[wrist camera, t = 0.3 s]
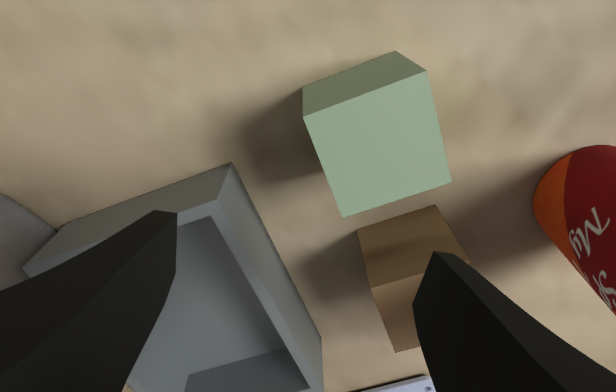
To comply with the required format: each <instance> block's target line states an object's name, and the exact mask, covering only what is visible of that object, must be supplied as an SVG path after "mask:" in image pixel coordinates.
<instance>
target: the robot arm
mask: <svg viewBox="0 0 616 392" xmlns="http://www.w3.org/2000/svg"><path fill="white" fill-rule="evenodd" d="M177 215H178V213H173V212H166V211H160V210H153V211H151V212H150V213H148V214H146V215H145V216H143V217H141V218H140V219H138V220H137V221H135V222H133V223H132V224H130V225H129V226H127V227H125V228H124V229H122V230H120V231H119V232H117V233H115V234H114V235H112V236H110V237H109V238H107V239H105V240H104V241H102V242H100V243H99V244H97V245H95V246H93V247H91V248H89V249H88V250H86V251H84V252H82V253H80V254H78V255H76V256H75V257H73V258H71V259H69V260H67V261H65V262H63V263H61V264H59V265H57V266H55V267H53V268H51V269H49V270H47V271H45V272H43V273H41V274H39V275H36V276H34V277H32V278H29V279H27V280H25V281H22V282H20V283H18V284H16V285H13V286H11V287H8V288H6V289H3V290H1V291H0V392H122V390H123V387H124V385H125V383H126V381H127V379H128V377H129V375H130V373H131V371H132V369H133V367H134V365H135V363H136V361H137V359H138V357H139V355H140V353H141V351H142V349H143V347H144V345H145V343H146V341H147V339H148V337H149V335H150V333H151V331H152V329H153V327H154V325H155V323H156V321H157V319H158V317H159V315H160V313H161V311H162V309H163V307H164V305H165V302H166V300H167V297H168V294H169V291H170V288H171V285H172V282H173V280H174V277H175V274H176V246H177ZM412 309H413V315H414V321H415V326H416V331H417V336H418V339H419V343H420V346H421V349H422V352H423V355H424V358H425V361H426V364H427V367H428V370H429V373H430V376H431V377H429V376H421V377H417V378H413V379H409V380H405V381H401V382H397V383H393V384H389V385H385V386H381V387H377V388H373V389H369V390H365V391H361V392H616V374H614V373H612V372H611V371H609V370H608V369H606V368H604V367H603V366H601V365H600V364H598V363H596V362H595V361H593V360H592V359H590V358H589V357H587V356H586V355H585V354H583V353H582V352H580V351H579V350H577V349H576V348H574V347H573V346H571V345H570V344H568V343H567V342H565V341H564V340H562V339H561V338H560V337H558V336H557V335H555V334H554V333H553V332H551V331H550V330H549V329H547V328H546V327H545V326H543V325H542V324H541V323H540V322H538V321H537V320H536V319H534V318H533V317H532V316H530V315H529V314H528V313H527V312H525V311H524V310H523V309H522V308H520V307H519V306H518V305H517V304H515V303H514V302H513V301H512V300H510V299H509V298H508V297H507V296H506V295H504V294H503V293H502V292H501V291H500V290H498V289H497V288H496V287H495V286H494V285H492V284H491V283H490V282H489V281H488V280H486V279H485V278H484V277H483V276H482V275H481V274H479V273H478V272H477V271H476V270H474V269H473V268H472V267H471V266H470V265H468V264H467V263H466V262H465V261H463V260H462V259H461V258H459V257H458V256H456V255H455V254H452V253H445V252H438V251H433V253H432V256H431V258H430V261H429V263H428V266H427V268H426V271H425V273H424V276H423V278H422V281H421V283H420V286H419V288H418V291H417V293H416V296H415V298H414V301H413V303H412Z"/></svg>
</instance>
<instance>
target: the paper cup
mask: <svg viewBox="0 0 616 392" xmlns="http://www.w3.org/2000/svg"><path fill="white" fill-rule="evenodd" d="M532 207H533V213H534V216H535V218H536V220H537V222H538V223H539V225H540V226H541V227H542V229H543V230H544V231H545V233H546V234H547V235H548V236H549V238H550V239H551V240H552V241H553V242H554V244H555V245H556V246H557V247H558V249H559V250H560V251H561V252H562V253H563V254H564V256H565V257H566V258H567V259H568V260H569V262H570V263H571V264H572V265H573V266H574V267H575V269H576V270H577V271H578V272H579V273H580V275H581V276H582V277H583V278H584V279H585V280H586V282H587V283H588V284H589V285H590V286H591V287H592V289H593V290H594V291H595V292H596V293H597V294H598V296H599V297H600V298H601V299H602V300H603V301H604V303H605V304H606V305H607V306H608V307H609V308H610V310H611V311H612V312H613V313H614V314H615V315H616V147H615V146H610V145H594V146H589V147H585V148H582V149H579V150H576V151H574V152H572V153H570V154H568V155H566V156H565V157H563V158H561V159H560V160H559V161H557V162H556V163H555V164H554V165H553V166H552V167H550V168H549V170H548V171H547V172H546V173H545V174H544V175H543V177H542V178H541V180H540V181H539V183H538V185H537V187H536V189H535V192H534V196H533V202H532Z"/></svg>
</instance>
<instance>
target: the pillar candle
mask: <svg viewBox="0 0 616 392" xmlns="http://www.w3.org/2000/svg"><path fill="white" fill-rule="evenodd" d="M56 234H57V232H56V231H55V230H54V229H53V228H52V227H51V226H50V225H48V224H47V223H45V222H44V221H42V220H41V219H39V218H38V217H37V216H35V215H34V214H32V213H31V212H30V211H28V210H27V209H25V208H23V207H22V206H20V205H19V204H17V203H16V202H14V201H13V200H11V199H9V198H8V197H6V196H4V195H2V194H0V291H1V290H3V289H6V288H8V287H11V286H13V285H16V284H18V283H20V282H22V281H25V280H27V279H29V278H30V277H29V276H28V275H27V273H26V272H25V271H24V270H23V269H22V267H23V266H24V265H25V264H26V263H27V262H28V261H29V260H30V259H31V258H32V257H33V256H34V255H35V254H36V253H37V252H38V251H39V250H40V249H41V248H42V247H43V246H45V245H46V244H47V243H48V242H49V241H50V240H51V239H52V238H53V237H54V236H55V235H56Z"/></svg>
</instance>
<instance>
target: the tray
mask: <svg viewBox="0 0 616 392" xmlns="http://www.w3.org/2000/svg"><path fill="white" fill-rule="evenodd" d="M153 210H160V211H166V212H173V213H178V215H177V246H176V274H175V277H174V280H173V282H172V285H171V288H170V291H169V294H168V297H167V300H166V302H165V305H164V307H163V309H162V311H161V313H160V315H159V317H158V319H157V321H156V323H155V325H154V327H153V329H152V331H151V333H150V335H149V337H148V339H147V341H146V343H145V345H144V347H143V349H142V351H141V353H140V355H139V357H138V359H137V361H136V363H135V365H134V367H133V369H132V371H131V373H130V375H129V377H128V379H127V381H126V383H127V384H128V385H129V386H130V387H131V388H132V389H133V391H134V392H324V381H323V363H322V345H321V336H320V334H319V332H318V330H317V328H316V326H315V324H314V322H313V320H312V318H311V316H310V315H309V313H308V311H307V309H306V307H305V305H304V303H303V301H302V299H301V297H300V295H299V293H298V291H297V289H296V287H295V285H294V283H293V281H292V279H291V277H290V275H289V273H288V271H287V269H286V267H285V266H284V264H283V262H282V260H281V258H280V256H279V254H278V252H277V250H276V248H275V246H274V244H273V242H272V240H271V238H270V236H269V234H268V232H267V230H266V228H265V226H264V224H263V222H262V220H261V218H260V216H259V215H258V213H257V211H256V209H255V207H254V205H253V203H252V201H251V199H250V197H249V195H248V193H247V191H246V189H245V187H244V185H243V183H242V181H241V179H240V177H239V175H238V173H237V171H236V169H235V167H234V166H233V164H232V162H231V163H228V164H226V165H223V166H220V167H218V168H215V169H212V170H209V171H207V172H204V173H201V174H198V175H196V176H193V177H190V178H188V179H185V180H182V181H179V182H177V183H174V184H171V185H168V186H166V187H163V188H160V189H158V190H155V191H152V192H149V193H147V194H144V195H141V196H138V197H136V198H133V199H130V200H128V201H125V202H122V203H119V204H117V205H114V206H111V207H108V208H106V209H103V210H100V211H98V212H95V213H92V214H89V215H87V216H84V217H81V218H78V219H76V220H73V221H70V222H68V223H67V224H66V225H65V226H64V227H63V228H62V229H61V230H60V231H59V232H58V233H57V234H56V235H55V236H54V237H53V238H52V239H51V240H50V241H49V242H48V243H47V244H46V245H45V246H43V247H42V248H41V249H40V250H39V251H38V252H37V253H36V254H35V255H34V256H33V257H32V258H31V259H30V260H29V261H28V262H27V263H26V264H25V265H24V266H23V267H22V269H23V270H24V271H25V272H26V273H27V275H28V276H29V277H30V278H32V277H34V276H36V275H39V274H41V273H43V272H45V271H47V270H49V269H51V268H53V267H55V266H57V265H59V264H61V263H63V262H65V261H67V260H69V259H71V258H73V257H75V256H76V255H78V254H80V253H82V252H84V251H86V250H88V249H89V248H91V247H93V246H95V245H97V244H99V243H100V242H102V241H104V240H105V239H107V238H109V237H110V236H112V235H114V234H115V233H117V232H119V231H120V230H122V229H124V228H125V227H127V226H129V225H130V224H132V223H133V222H135V221H137V220H138V219H140V218H141V217H143V216H145V215H146V214H148V213H150V212H151V211H153Z"/></svg>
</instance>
